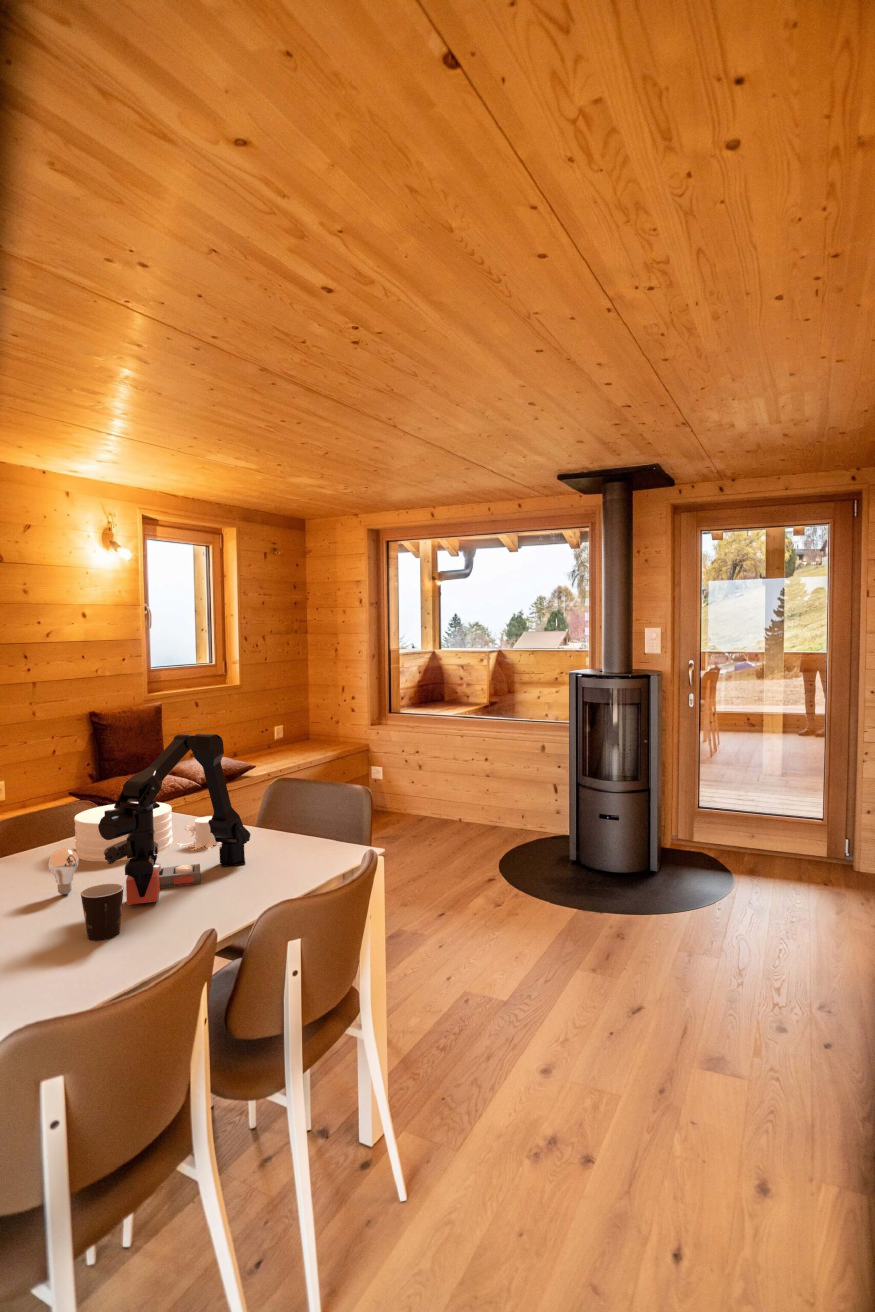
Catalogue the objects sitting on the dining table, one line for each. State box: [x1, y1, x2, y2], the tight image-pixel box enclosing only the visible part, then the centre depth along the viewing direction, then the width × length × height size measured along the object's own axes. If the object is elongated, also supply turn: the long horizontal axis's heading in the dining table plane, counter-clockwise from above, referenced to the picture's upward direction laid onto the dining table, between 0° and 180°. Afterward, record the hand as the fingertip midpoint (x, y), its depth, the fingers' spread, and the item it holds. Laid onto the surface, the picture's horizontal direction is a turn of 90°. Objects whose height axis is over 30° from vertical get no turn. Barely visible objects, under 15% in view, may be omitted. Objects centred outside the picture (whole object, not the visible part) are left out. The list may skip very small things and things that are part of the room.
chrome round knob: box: [154, 862, 162, 874], centre depth 194 cm, size 4×4×2 cm
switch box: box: [159, 863, 201, 889], centre depth 196 cm, size 16×8×3 cm, turn 107°
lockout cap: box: [125, 868, 161, 906], centre depth 181 cm, size 7×7×6 cm
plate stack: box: [73, 801, 174, 862], centre depth 230 cm, size 28×28×12 cm
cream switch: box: [175, 864, 193, 874], centre depth 197 cm, size 4×4×2 cm
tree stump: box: [176, 815, 221, 851], centre depth 232 cm, size 20×19×8 cm
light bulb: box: [48, 847, 80, 897], centre depth 188 cm, size 7×7×12 cm
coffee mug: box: [80, 883, 124, 942], centre depth 160 cm, size 12×9×10 cm
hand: (143, 891), depth 181 cm, fingers closed on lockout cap, 7 cm apart
